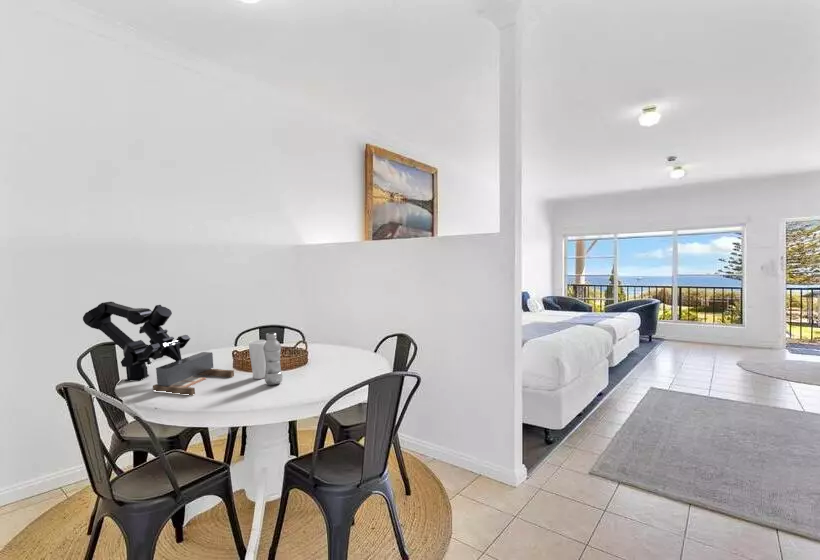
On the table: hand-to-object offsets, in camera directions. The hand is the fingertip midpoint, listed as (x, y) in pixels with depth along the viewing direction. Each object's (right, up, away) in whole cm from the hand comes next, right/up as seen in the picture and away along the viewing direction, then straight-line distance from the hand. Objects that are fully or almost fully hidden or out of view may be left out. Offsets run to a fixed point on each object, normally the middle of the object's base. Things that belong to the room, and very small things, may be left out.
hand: (180, 361), depth 166 cm
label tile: (+3, -9, 0) cm, 9 cm away
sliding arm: (+3, -6, 0) cm, 6 cm away
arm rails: (+7, -9, -1) cm, 11 cm away
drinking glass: (+30, -8, +5) cm, 31 cm away
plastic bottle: (+39, -8, -4) cm, 40 cm away
